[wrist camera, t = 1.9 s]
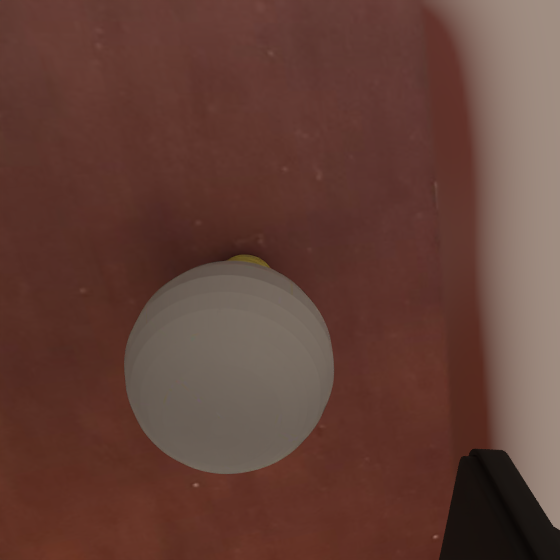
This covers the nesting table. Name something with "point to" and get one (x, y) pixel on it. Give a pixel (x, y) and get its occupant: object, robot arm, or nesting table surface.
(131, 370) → the light bulb
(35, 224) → the nesting table surface
